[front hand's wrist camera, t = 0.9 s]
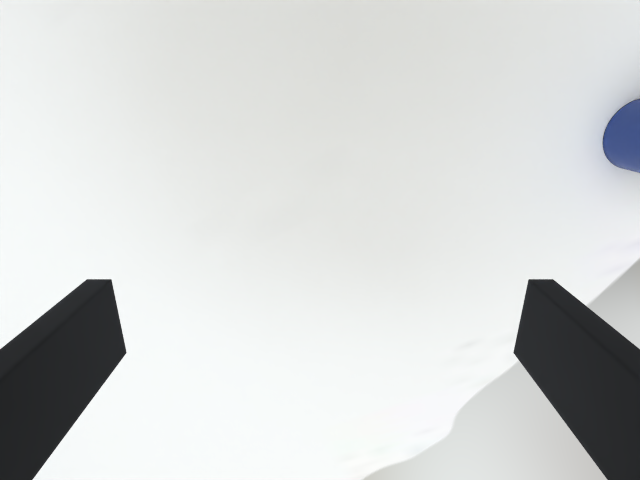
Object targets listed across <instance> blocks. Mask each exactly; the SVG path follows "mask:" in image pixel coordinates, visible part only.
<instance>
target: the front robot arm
mask: <svg viewBox="0 0 640 480" xmlns="http://www.w3.org/2000/svg"><path fill="white" fill-rule="evenodd" d="M125 354H126V348H125V343H124V339H123V334H122V329H121V324H120V319H119V314H118V309H117V305H116V300H115V295H114V290H113V285H112V280H111V279H87V280H86V281H84V282H83V283H82V284H81V285H80V286H78V287H77V288H76V289H75V290H73V291H72V292H71V293H70V294H68V295H67V296H66V297H65V298H63V299H62V300H61V301H60V302H58V303H57V304H56V305H55V306H53V307H52V308H51V309H50V310H49V311H47V312H46V313H45V314H44V315H42V316H41V317H40V318H39V319H37V320H36V321H35V322H34V323H32V324H31V325H30V326H29V327H27V328H26V329H25V330H24V331H22V332H21V333H20V334H19V335H18V336H16V337H15V338H14V339H13V340H11V341H10V342H9V343H8V344H6V345H5V346H4V347H3V348H1V349H0V480H32V479H33V478H34V477H35V475H36V474H37V473H38V471H39V470H40V469H41V467H42V466H43V465H44V463H45V462H46V461H47V459H48V458H49V457H50V455H51V454H52V453H53V451H54V450H55V448H56V447H57V446H58V444H59V443H60V442H61V440H62V439H63V438H64V436H65V435H66V434H67V432H68V431H69V430H70V428H71V427H72V426H73V424H74V423H75V421H76V420H77V419H78V417H79V416H80V415H81V413H82V412H83V411H84V409H85V408H86V407H87V405H88V404H89V403H90V401H91V400H92V399H93V397H94V396H95V394H96V393H97V392H98V390H99V389H100V388H101V386H102V385H103V384H104V382H105V381H106V380H107V378H108V377H109V376H110V374H111V373H112V372H113V370H114V369H115V367H116V366H117V365H118V363H119V362H120V361H121V359H122V358H123V357H124V355H125ZM514 354H515V355H516V357H517V358H518V359H519V361H520V362H521V363H522V365H523V366H524V367H525V369H526V370H527V372H528V373H529V374H530V375H531V377H532V378H533V380H534V381H535V382H536V384H537V385H538V386H539V388H540V389H541V390H542V392H543V393H544V394H545V396H546V397H547V398H548V400H549V401H550V403H551V404H552V405H553V407H554V408H555V409H556V411H557V412H558V413H559V415H560V416H561V417H562V419H563V420H564V421H565V423H566V424H567V426H568V427H569V428H570V430H571V431H572V432H573V434H574V435H575V436H576V438H577V439H578V440H579V442H580V443H581V444H582V446H583V447H584V448H585V450H586V451H587V453H588V454H589V455H590V457H591V458H592V459H593V461H594V462H595V463H596V465H597V466H598V467H599V469H600V470H601V471H602V473H603V474H604V475H605V477H606V478H607V479H608V480H640V349H639V348H637V347H636V346H635V345H634V344H632V343H631V342H630V341H629V340H627V339H626V338H625V337H624V336H622V335H621V334H620V333H619V332H618V331H616V330H615V329H614V328H613V327H611V326H610V325H609V324H608V323H606V322H605V321H604V320H603V319H601V318H600V317H599V316H598V315H596V314H595V313H594V312H593V311H591V310H590V309H589V308H588V307H587V306H585V305H584V304H583V303H582V302H580V301H579V300H578V299H577V298H575V297H574V296H573V295H572V294H570V293H569V292H568V291H567V290H565V289H564V288H563V287H562V286H561V285H559V284H558V283H557V282H556V281H554V280H553V279H529V280H528V285H527V290H526V295H525V300H524V305H523V309H522V314H521V319H520V324H519V329H518V334H517V339H516V343H515V348H514Z"/></svg>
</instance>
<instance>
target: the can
mask: <svg viewBox="0 0 640 480" xmlns="http://www.w3.org/2000/svg"><path fill="white" fill-rule="evenodd" d="M603 148H604V152H605V155H606V156H607V158H608V160H609V161H610V162H611V163H612V164H614V165H615V166H617V167H620V168H623V169H627V170H631V171H635V172H639V173H640V99H637V100H634V101H632V102H630V103H628V104H627V105H625V106H624V107H622V108H621V109H620V110H619V111H618V112H617V113H616V114H615V115H614V116H613V117H612V119H611V120H610V122H609V124H608V125H607V128H606V130H605V133H604V138H603Z"/></svg>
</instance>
